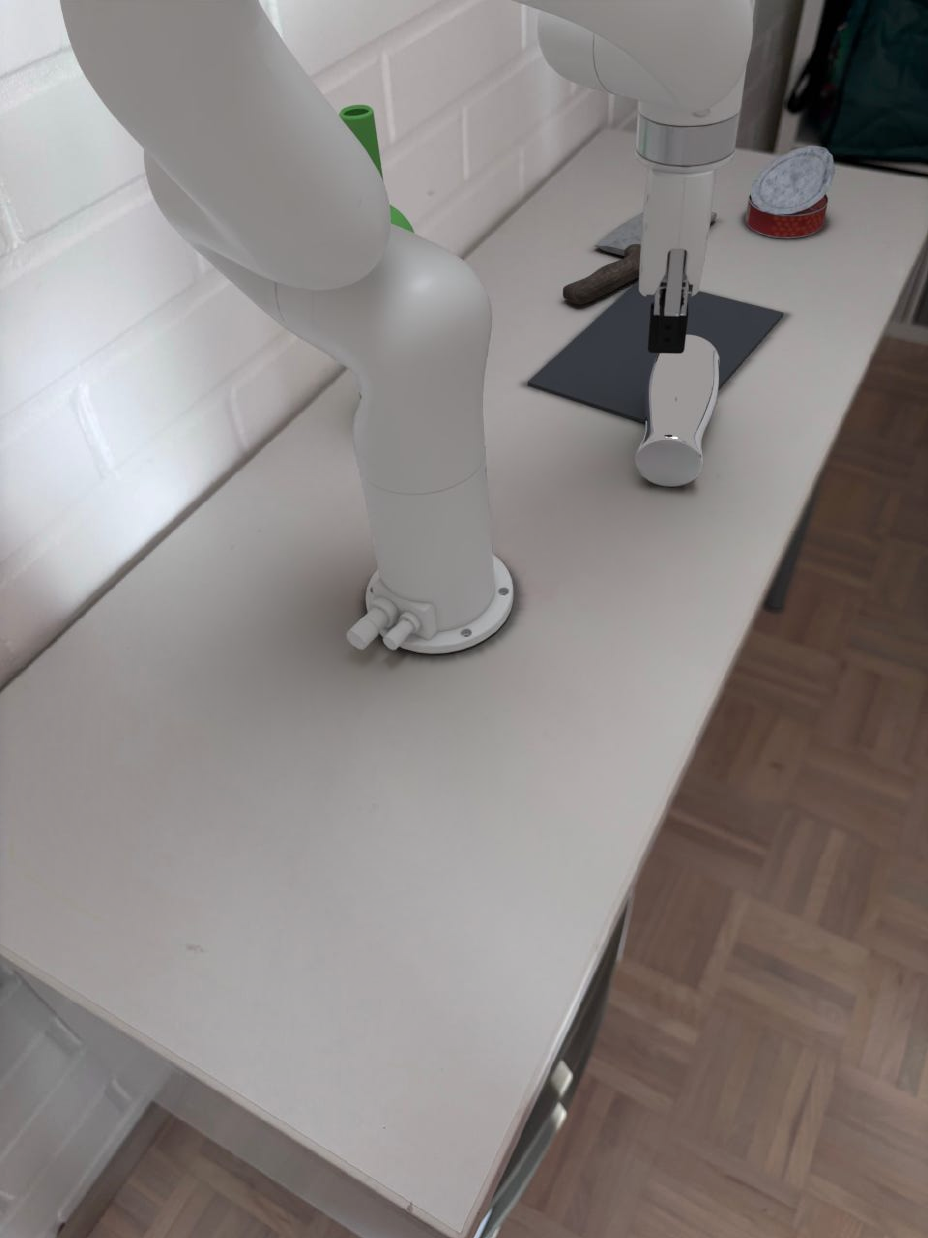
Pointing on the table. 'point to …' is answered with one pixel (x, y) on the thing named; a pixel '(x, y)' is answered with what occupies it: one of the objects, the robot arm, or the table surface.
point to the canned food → (791, 194)
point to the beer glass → (678, 412)
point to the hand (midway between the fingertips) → (665, 348)
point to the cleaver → (612, 264)
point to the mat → (618, 349)
